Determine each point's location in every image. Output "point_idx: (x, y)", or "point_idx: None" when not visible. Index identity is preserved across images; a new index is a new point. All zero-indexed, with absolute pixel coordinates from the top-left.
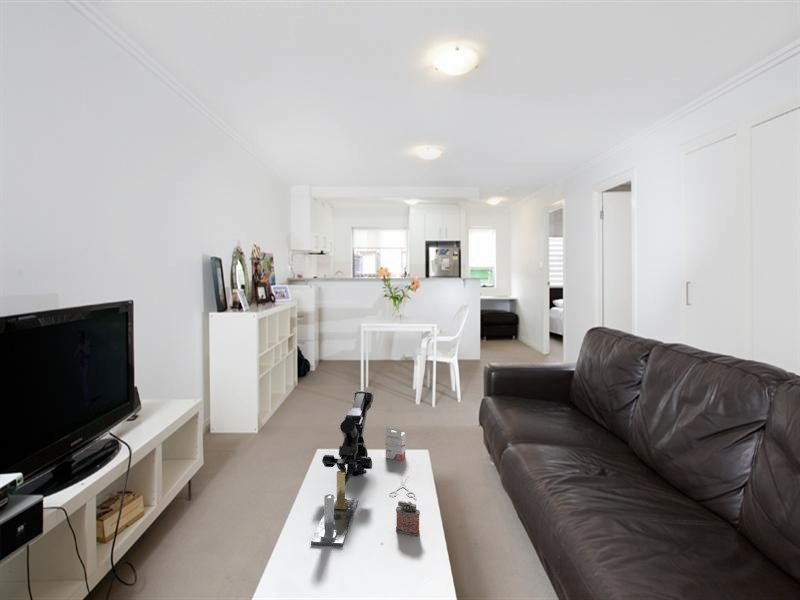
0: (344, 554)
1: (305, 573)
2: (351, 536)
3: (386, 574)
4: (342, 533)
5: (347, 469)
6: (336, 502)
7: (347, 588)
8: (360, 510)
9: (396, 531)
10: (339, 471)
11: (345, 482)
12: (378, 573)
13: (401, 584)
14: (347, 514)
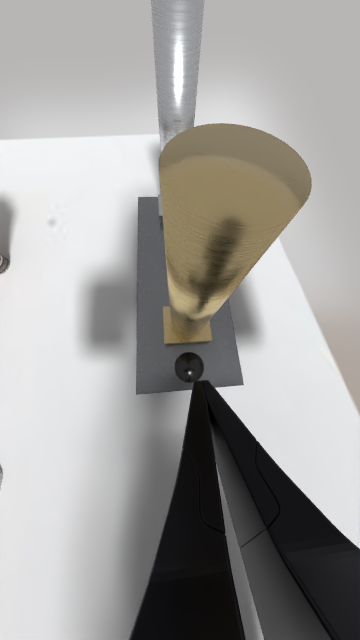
0: (131, 191)
1: None
2: (127, 234)
3: (47, 162)
4: (146, 222)
5: (217, 549)
6: (205, 325)
7: (111, 141)
8: (120, 339)
9: (7, 260)
10: (275, 185)
11: (193, 390)
12: (61, 163)
13: (22, 150)
14: (152, 292)
